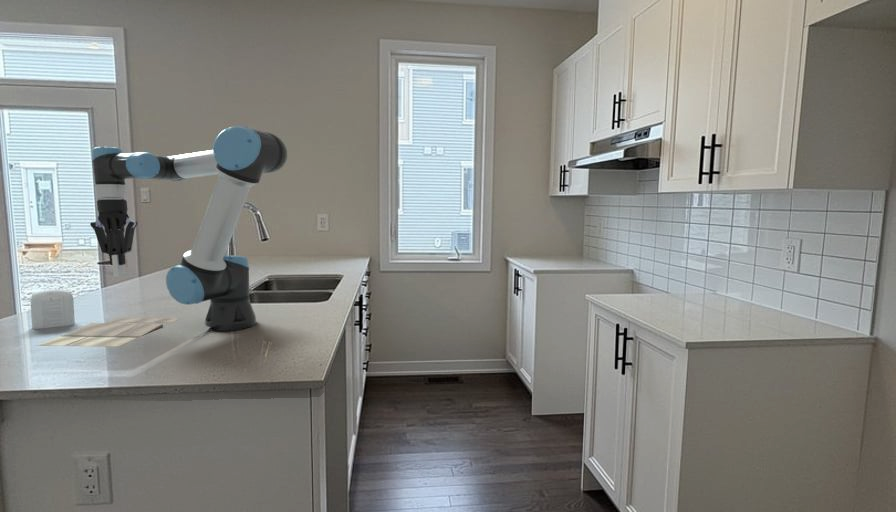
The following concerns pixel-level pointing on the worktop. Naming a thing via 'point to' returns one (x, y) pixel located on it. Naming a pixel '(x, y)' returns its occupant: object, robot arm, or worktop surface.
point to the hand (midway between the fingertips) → (119, 275)
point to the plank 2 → (144, 320)
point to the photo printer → (52, 309)
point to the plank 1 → (115, 329)
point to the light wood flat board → (89, 341)
